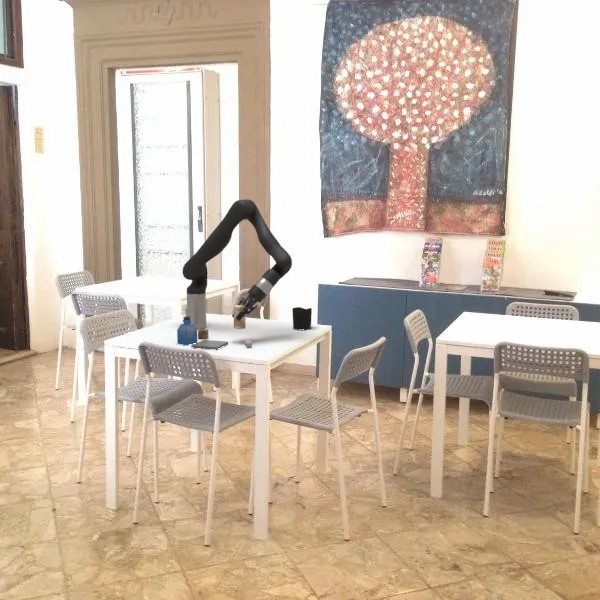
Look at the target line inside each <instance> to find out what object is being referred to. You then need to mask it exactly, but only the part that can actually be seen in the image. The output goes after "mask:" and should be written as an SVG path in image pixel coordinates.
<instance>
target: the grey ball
mask: <svg viewBox="0 0 600 600" xmlns="http://www.w3.org/2000/svg"><path fill="white" fill-rule="evenodd" d="M244 345H245V347H247V348H251V347H252V346H253V341H252V340H250V339H248V340H246V341H245V342H244Z"/></svg>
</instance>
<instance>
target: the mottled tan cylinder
mask: <svg viewBox="0 0 600 600" xmlns="http://www.w3.org/2000/svg"><path fill="white" fill-rule="evenodd" d="M243 308H244V306H243V305H238V304H237V305H233V314H234V318H233V328H234V329H236V330H244V329H246V328H247V327H246V324H247V323H246V320H247V319H246V315H247V314H246V315H244V316H243V317H242V319H241V320H240V321H239V320H237V319H236V316H237V315H238V314H239V313H240V312H242V309H243Z"/></svg>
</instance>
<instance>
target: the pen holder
mask: <svg viewBox="0 0 600 600" xmlns="http://www.w3.org/2000/svg"><path fill="white" fill-rule="evenodd" d="M312 310H313V309H312V307H309V308H304V307H301V306H297V307H293V308H292V310H291V311H292V328H293V329H294V328H295V329H309V330H311V328H312ZM295 329H294V330H295Z"/></svg>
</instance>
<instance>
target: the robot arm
mask: <svg viewBox="0 0 600 600" xmlns="http://www.w3.org/2000/svg"><path fill="white" fill-rule="evenodd" d="M243 221H248V222H250V224H251V225H252V226H253V228H254V230H255V233H256V234H257V235H256V236H257V238H258V241H259V244H260V245H261V246H262V247H263V249H264V251H265V252H266V253H267V254H268V255H269V256H270V257H272V259H273V260H274V262H275V264H274V265H273V266H272V267H271V268H269V269H267V270H266V271H265V272H264V273H263V274H262V276H261V277H260V278H258V279H257V280H256V282H255V283H254V284H253V285H252V286H251V287H250V288H249V290H248V291H247V294H248V295H247V296H246V297H241V298H240V300H239V302H238V303H237V305H243V306H244V308H243V309H242V312H240V313H239V314H238V315H237V316H236V319H237V320H239V321H240V320H241V319H242V317H243V316H244V315H250V314H251V313H252V312H253V311H254V310H255V309H256V308H258V304H257V303H259V304H260V303H262V301H264V299H265V298H266V297H267V296H268V295H269V294H270V292H271V290H273V288H274V287H275V286H276V285H277V284H278V282H279V281H280V280H281V279H282V278H283V277H284V276H285V275H287V274H288V273H289V272H290V270H291V269H292V266H293V260H292V259H293V258H292V257H291V255H290V254H289V252H288V251H287V250H286V249H285V248H284V247H283V246H282V245H281V244H280V242H279V241H278V239H277V238H276V237H275V236H274V233H272V231H271V230H270V228H269V227H268V225H267V223H266V221H265V219H264V217H263V216H262V214H261V212H260V210H259V208H258V206H257V205H256V203H255V202H254V201H253V200H251V199H238V200H236V201H234V202H233V203H232V204H231V206H230V208H229V209H228V211H227V213H226V214H225V216H224V217H223V218H222V219H221V221H220V222H219V224H217V226H216V227H215V229H214V230H213V231H212V232H211V233H210V234H209V236H207V239H206V240H205V241H204V242H203V243H202V245H201V246H200V247H199V248H198V250H197V251H196V252H195V253H194V254H193V255H192V256H191V257H190V258H189V259H188V261H186V262H185V263H184V265H183V266H182V275H183V276H182V277H183V278H185V279H186V280H188V281H191V283H190V285H188V286H187V287H186V308H185V316H189V317H190V319H191V322H190V324H194V326H195V327H196V329H197V330H199V329H206V328H207V301H206V300H207V293H206V292H207V288H208V287H207V286H208V276H209V275H208V273H209V272H208V267H207V263H208V262H210V261H211V260H212V259H214V258H215V257H217V256H218V255H219V254H220V253H222V251H224V249H225V248H226V247H227V246H228V245H229V244H230V242H231V240H232V237H233V232H234V230H235V229H236V227H237V226H239V224H240V223H241V222H243ZM231 316H232V318H233V319H234V313H232V315H231Z"/></svg>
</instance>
